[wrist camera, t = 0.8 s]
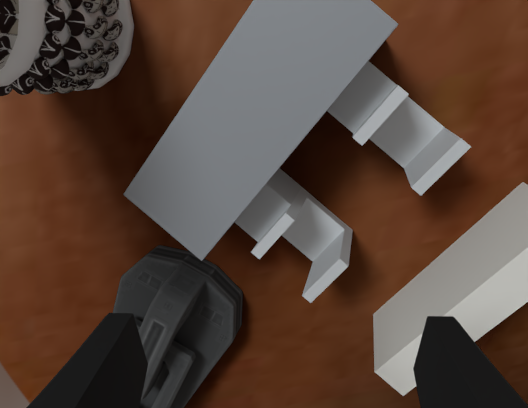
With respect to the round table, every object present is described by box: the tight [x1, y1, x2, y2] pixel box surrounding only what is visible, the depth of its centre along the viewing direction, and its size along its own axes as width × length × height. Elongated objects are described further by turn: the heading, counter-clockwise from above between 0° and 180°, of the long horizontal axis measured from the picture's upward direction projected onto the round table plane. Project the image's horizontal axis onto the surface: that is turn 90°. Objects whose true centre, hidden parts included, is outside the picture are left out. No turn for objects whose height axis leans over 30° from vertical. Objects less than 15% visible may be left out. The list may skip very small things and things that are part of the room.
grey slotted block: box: [123, 0, 471, 303], centre depth 23 cm, size 11×14×7 cm
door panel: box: [373, 182, 528, 396], centre depth 23 cm, size 12×2×6 cm, turn 142°
